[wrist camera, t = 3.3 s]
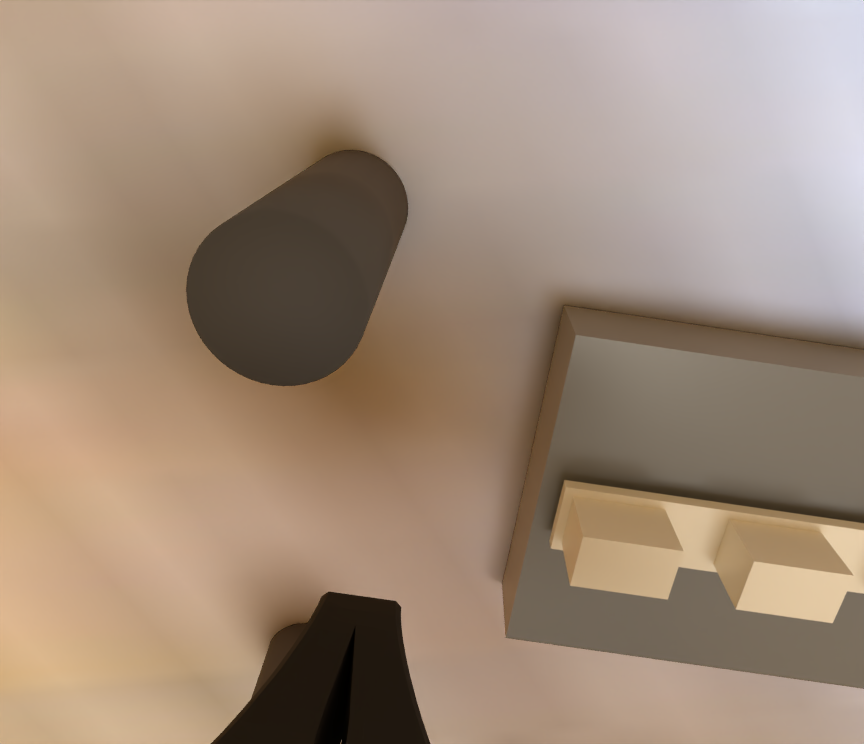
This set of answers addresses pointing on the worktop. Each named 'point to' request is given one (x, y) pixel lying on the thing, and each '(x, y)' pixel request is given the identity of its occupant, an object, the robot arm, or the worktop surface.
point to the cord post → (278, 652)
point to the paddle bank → (708, 549)
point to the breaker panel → (691, 483)
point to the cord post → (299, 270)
